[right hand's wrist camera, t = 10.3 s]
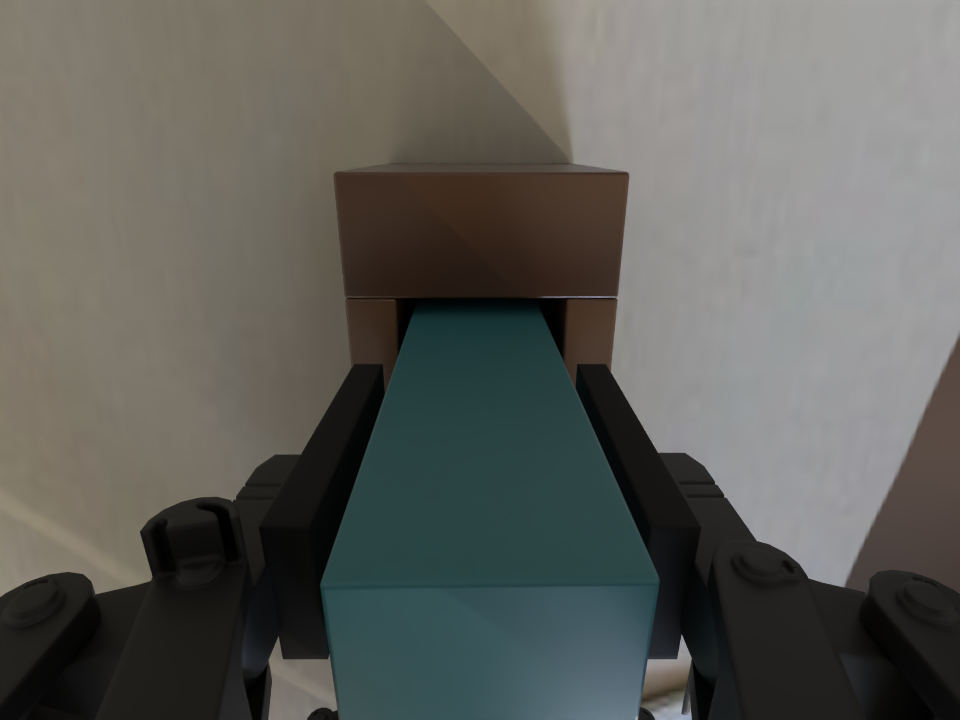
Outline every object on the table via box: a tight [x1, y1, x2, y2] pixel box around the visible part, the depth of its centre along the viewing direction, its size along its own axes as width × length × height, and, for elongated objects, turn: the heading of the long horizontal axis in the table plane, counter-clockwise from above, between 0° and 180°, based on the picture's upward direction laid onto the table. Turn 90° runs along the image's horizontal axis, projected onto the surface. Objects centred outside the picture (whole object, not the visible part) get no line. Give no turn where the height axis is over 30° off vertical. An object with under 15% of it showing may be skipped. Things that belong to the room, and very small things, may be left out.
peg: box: [320, 298, 660, 720], centre depth 13 cm, size 4×4×14 cm
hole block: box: [334, 164, 629, 393], centre depth 24 cm, size 28×8×9 cm, turn 0°
